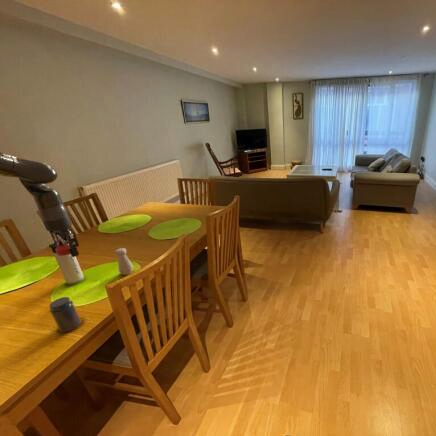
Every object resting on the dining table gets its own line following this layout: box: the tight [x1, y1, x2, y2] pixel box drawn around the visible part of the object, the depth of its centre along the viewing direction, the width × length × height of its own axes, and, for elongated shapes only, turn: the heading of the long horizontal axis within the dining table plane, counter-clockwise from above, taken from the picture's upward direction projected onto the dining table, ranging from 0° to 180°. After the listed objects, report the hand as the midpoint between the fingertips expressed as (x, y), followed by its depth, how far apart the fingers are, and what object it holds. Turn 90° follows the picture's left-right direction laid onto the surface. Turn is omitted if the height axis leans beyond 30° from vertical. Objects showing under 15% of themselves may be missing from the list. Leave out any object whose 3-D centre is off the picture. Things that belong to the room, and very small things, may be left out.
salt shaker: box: [114, 247, 134, 276], centre depth 114 cm, size 6×6×13 cm
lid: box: [55, 243, 79, 256], centre depth 96 cm, size 6×6×2 cm
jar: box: [49, 296, 82, 334], centre depth 85 cm, size 6×6×11 cm
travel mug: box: [48, 240, 85, 286], centre depth 107 cm, size 6×7×20 cm
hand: (70, 254), depth 98 cm, fingers closed on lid, 6 cm apart
